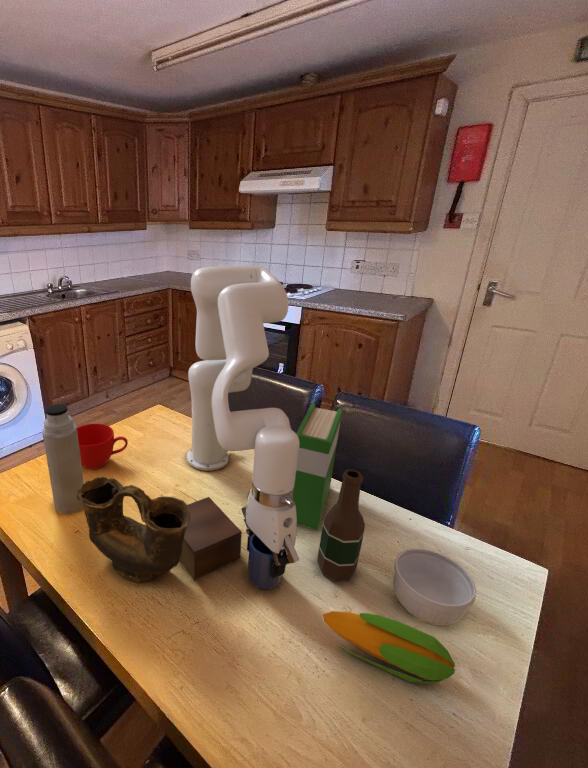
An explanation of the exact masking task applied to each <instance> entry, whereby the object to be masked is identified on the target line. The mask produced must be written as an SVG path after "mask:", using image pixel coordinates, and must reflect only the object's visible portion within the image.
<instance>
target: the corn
mask: <svg viewBox="0 0 588 768" xmlns="http://www.w3.org/2000/svg"><path fill="white" fill-rule="evenodd" d="M322 619H323V623H325V625H326V626H327V627H328V628H329V629H330V630H331V631H333V632H334V633H335V634H337V636H338V637H340V638H342V640H345V641H347V642H348V643H349V644H352V645H353V646H355V647H357V648H358V649H360V650H362V651H363V652H365V653H367V654H369V655H370V656H372V657H374V658H376V659H378V660H381V661H382V662H385V663H387V664H389V665H391V666H393V667H396V668H398V669H400V670H402V671H404V672H406V673H409V674H411V675H413V676H415V677H413V676H410V675H408V674H405V673H403V672H400V671H397V670H396V669H392V668H390V667H388V666H384V665H382V664H379V663H377V662H375V661H372V660H370V659H368V658H365V657H364V656H361V655H359V654H357V653H355V652H353V651H351V650H349V649H347V648H345V647H344V646H341V645H339V644H336V646H337V647H338V648H340V649H342V650H344V651H345V652H347V653H349V654H351V655H352V656H354V657H356V658H358V659H360V660H363V661H364V662H366V663H368V664H371V665H373V666H374V667H377V668H380V669H382V670H384V671H386V672H388V673H390V674H392V675H394V676H396V677H398V678H401V679H403V680H404V681H406V682H409V683H413V684H425V685H433V684H438V683H440V682H442V681H445V680H448V679H449V678H451V677H453V675H455V672H456V668H455V667H456V663H455V661H454V659H453V657H452V655H451V653H450V651H449V650H448V649H447V648H446V647H445V645H443V644H442V643H441V642H440V641H439V640H438V639H437V638H436V637H435V636H433V635H432V634H431V635H430V634H428V633H426V632H424V631H421V630H419V629H417V628H415V627H413V626H410V625H408V624H406V623H404V622H401V621H399V620H396V619H393V618H391V617H387V616H383V615H380V614H374V613H368V612H360V613H355V612H349V611H338V610H337V611H336V610H332V611H328V612H326V613H323V614H322ZM416 677H420V678H423V679H422V680H421V679H418V678H416Z"/></svg>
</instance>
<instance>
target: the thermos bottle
mask: <svg viewBox="0 0 588 768" xmlns="http://www.w3.org/2000/svg"><path fill="white" fill-rule="evenodd" d="M45 413H46V419H45V420H44V422H43V429H42V431H41V433H42V439H43V444H44V450H45V457H46V464H47V468H48V474H49V482H50V486H51V492H52V500H53V506H54V509H55V510H56V511H57V513H59V514H65V515H69V514H75V513H77V512H79V511H80V510H82V509H84V508H83V505H82V504H81V502H80V501H79V500H78V499H77V494H78V490H80V489H81V488H82V485H83V484H85V481H84V474H83V465H81V458H80V450H79V442H78V434H77V428H78V427H77V425H76V423H74V418H73V417H72V416H71V415H70V414H69V412H68V406H67V405H66V404H64V403H56V404H55V403H54V404H52V405H48V406H47V407H46V408H45Z"/></svg>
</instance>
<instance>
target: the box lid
mask: <svg viewBox="0 0 588 768" xmlns="http://www.w3.org/2000/svg"><path fill="white" fill-rule="evenodd" d="M187 505H188V508H189V510H190V516H191V517H190V520H189V522H188V526H187V528H186V530H185V535H184V542H185V543H186V544H187V546H188V547H189V548H190V550H191V551H192V552H193V554H194V555H195V554H198V553H200V552H202V551H205V550H207V549H209V548H212V547H214V546H216V545H219V544H221V543H223V542H226V541H228V540H230V539H232V538H235V537H237V536H239V535H242V534H243V532H242V530H241V529H240V528H239V527H238V526H237V525H236V524H235V523H234V522H233V521H232V520H231V518H230V517H229V516H228V515H227V514H226V513H225V512H224V511H223V510H222V509H221V508H220V507H219V506H218V504H216V503H215V501H213V499H212V498H211V497H210V496H207V497H204V498H201V499H199V500H196V501H194V502H191V503H187ZM242 536H243V535H242Z"/></svg>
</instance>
